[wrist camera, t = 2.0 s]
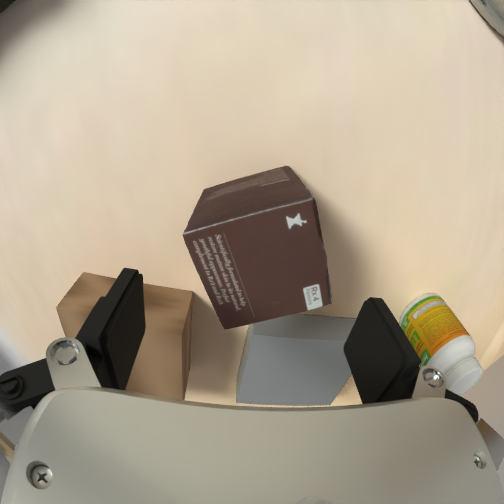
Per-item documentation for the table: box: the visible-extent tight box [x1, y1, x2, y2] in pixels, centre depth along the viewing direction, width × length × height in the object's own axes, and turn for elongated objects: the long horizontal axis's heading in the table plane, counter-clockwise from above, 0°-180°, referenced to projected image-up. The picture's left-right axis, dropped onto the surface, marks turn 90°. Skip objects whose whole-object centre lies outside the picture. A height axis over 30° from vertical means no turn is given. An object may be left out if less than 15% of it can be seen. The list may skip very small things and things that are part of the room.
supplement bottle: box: [399, 293, 483, 396], centre depth 20 cm, size 5×5×10 cm
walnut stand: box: [56, 272, 193, 400], centre depth 22 cm, size 10×10×5 cm
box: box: [183, 166, 332, 329], centre depth 16 cm, size 6×6×7 cm
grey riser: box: [236, 314, 356, 406], centre depth 25 cm, size 10×10×3 cm
